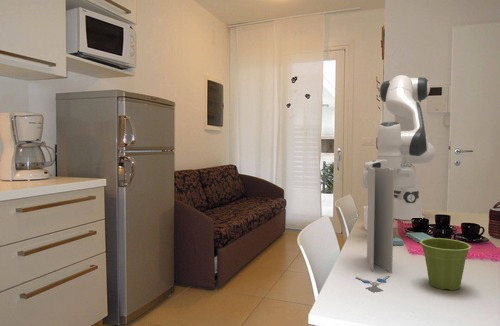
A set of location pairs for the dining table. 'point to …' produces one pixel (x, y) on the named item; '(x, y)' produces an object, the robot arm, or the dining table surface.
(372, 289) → the blue grey flat piece
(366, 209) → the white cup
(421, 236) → the teal flat block
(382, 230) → the brochure
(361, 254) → the dining table surface
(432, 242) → the plant pot
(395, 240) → the stub
